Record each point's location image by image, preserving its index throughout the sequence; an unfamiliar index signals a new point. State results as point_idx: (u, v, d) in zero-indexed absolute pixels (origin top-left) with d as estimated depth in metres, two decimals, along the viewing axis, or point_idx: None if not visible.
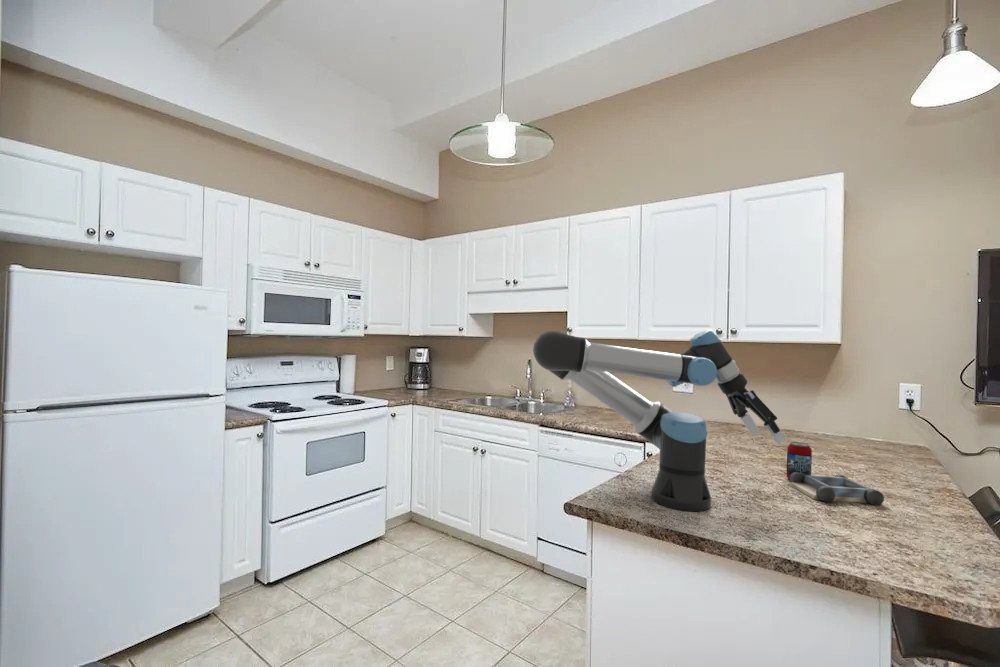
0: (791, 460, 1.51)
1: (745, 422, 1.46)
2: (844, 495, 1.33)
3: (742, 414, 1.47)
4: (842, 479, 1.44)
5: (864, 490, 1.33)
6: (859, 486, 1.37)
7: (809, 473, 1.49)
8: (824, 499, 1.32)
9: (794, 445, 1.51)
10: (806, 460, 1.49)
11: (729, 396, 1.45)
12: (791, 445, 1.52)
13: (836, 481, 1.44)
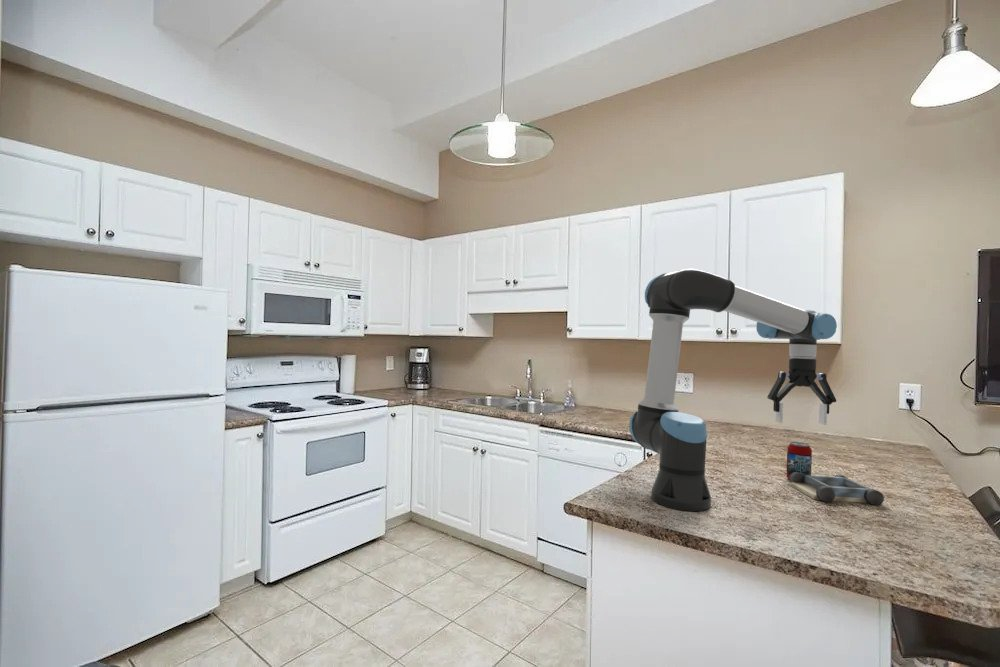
0: (791, 460, 1.51)
1: None
2: (844, 495, 1.33)
3: None
4: (842, 479, 1.44)
5: (864, 490, 1.33)
6: (859, 486, 1.37)
7: (809, 473, 1.49)
8: (824, 499, 1.32)
9: (794, 445, 1.51)
10: (806, 460, 1.49)
11: None
12: (791, 445, 1.52)
13: (836, 481, 1.44)
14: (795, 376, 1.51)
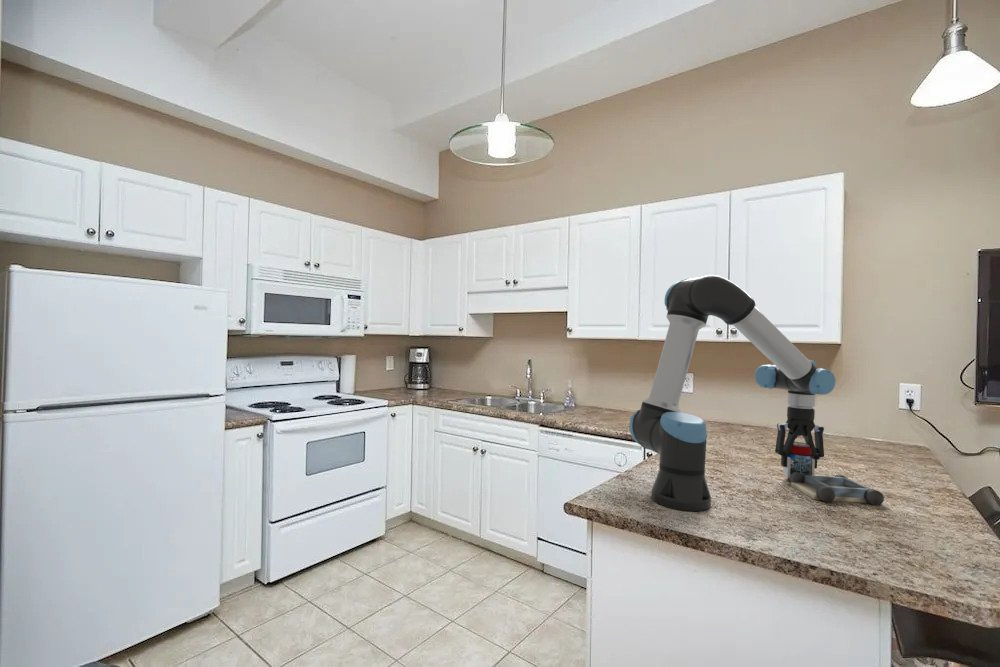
0: (791, 460, 1.51)
1: None
2: (844, 495, 1.33)
3: None
4: (842, 479, 1.44)
5: (864, 490, 1.33)
6: (859, 486, 1.37)
7: (809, 473, 1.49)
8: (824, 499, 1.32)
9: (794, 445, 1.51)
10: (806, 460, 1.49)
11: (786, 429, 1.52)
12: None
13: (836, 481, 1.44)
14: (794, 425, 1.51)
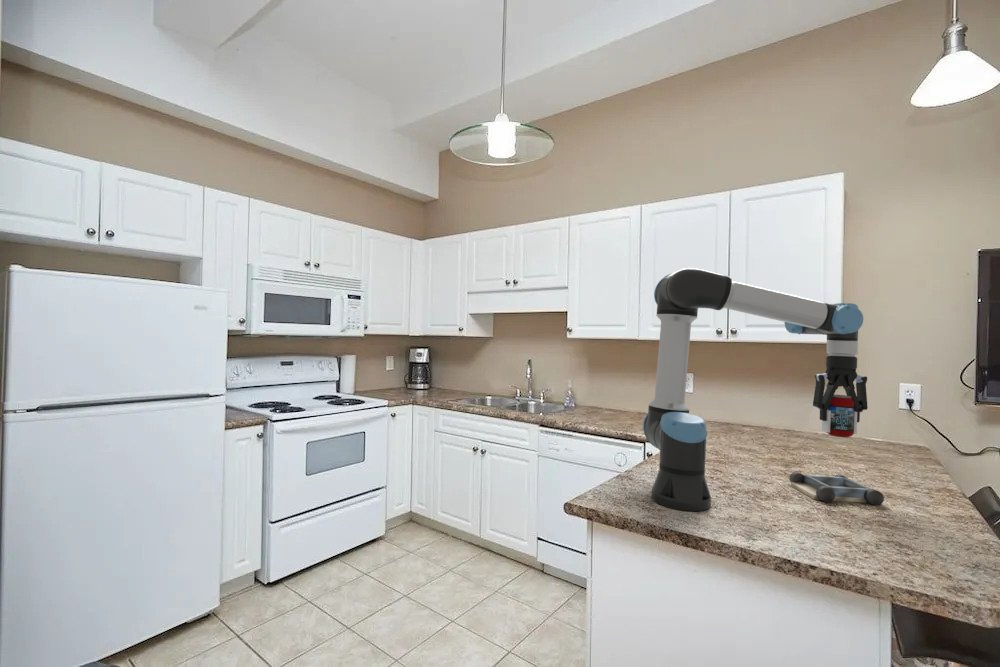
0: (831, 413, 1.38)
1: None
2: (844, 495, 1.33)
3: None
4: (842, 479, 1.44)
5: (864, 490, 1.33)
6: (859, 486, 1.37)
7: (851, 427, 1.36)
8: (824, 499, 1.32)
9: (834, 397, 1.38)
10: (848, 412, 1.36)
11: (825, 379, 1.39)
12: None
13: (836, 481, 1.44)
14: (834, 375, 1.38)
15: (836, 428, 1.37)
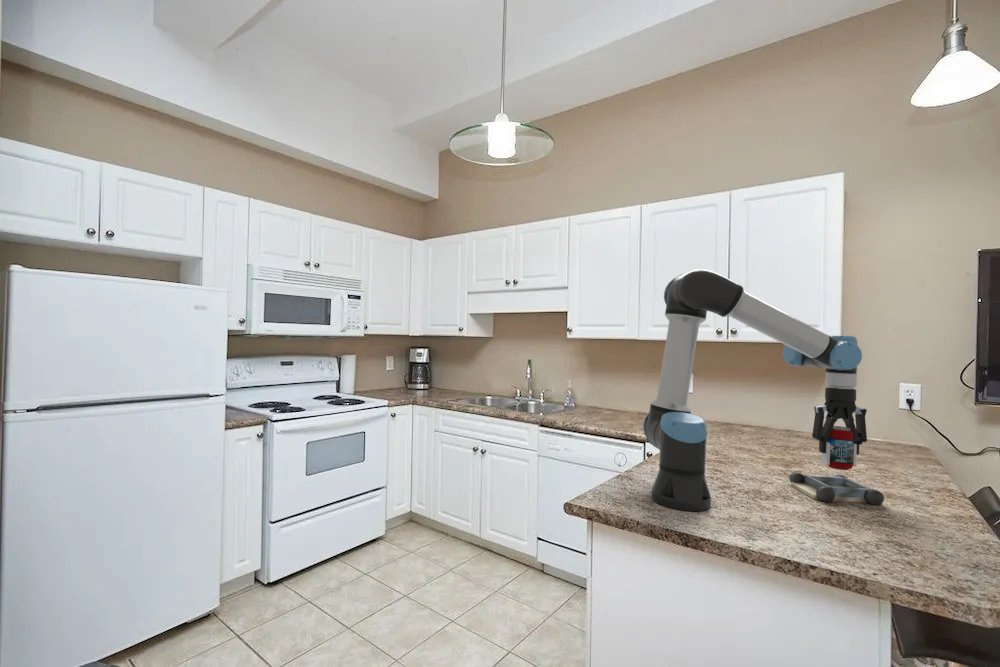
0: (830, 445, 1.38)
1: None
2: (844, 495, 1.33)
3: None
4: (842, 479, 1.44)
5: (864, 490, 1.33)
6: (859, 486, 1.37)
7: (851, 459, 1.36)
8: (824, 499, 1.32)
9: (834, 429, 1.38)
10: (847, 445, 1.36)
11: None
12: None
13: (836, 481, 1.44)
14: (833, 407, 1.38)
15: (836, 461, 1.37)
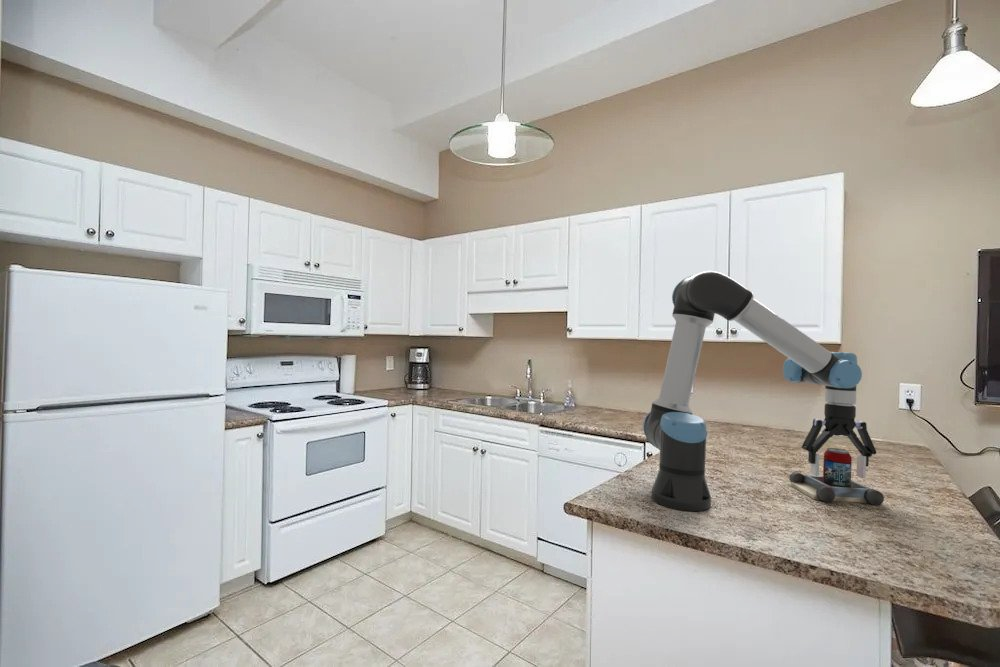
0: (829, 468, 1.38)
1: None
2: (844, 495, 1.33)
3: None
4: None
5: (864, 490, 1.33)
6: (859, 486, 1.37)
7: (849, 482, 1.36)
8: (824, 499, 1.32)
9: (832, 452, 1.38)
10: (846, 468, 1.36)
11: (822, 426, 1.38)
12: (828, 452, 1.39)
13: None
14: (832, 424, 1.38)
15: (834, 484, 1.37)
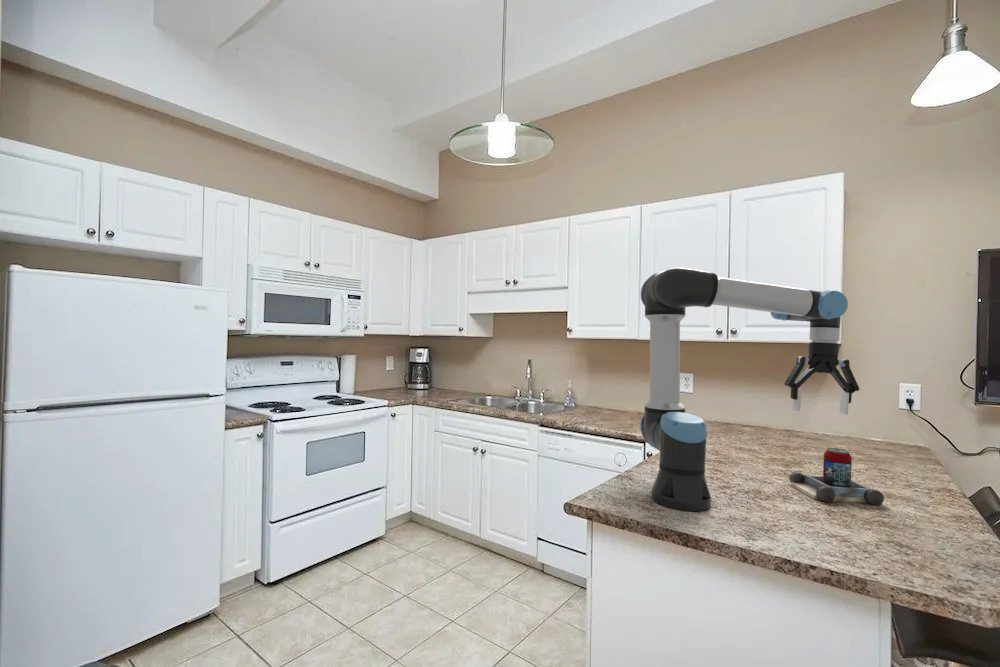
0: (829, 468, 1.38)
1: None
2: (844, 495, 1.33)
3: None
4: None
5: (864, 490, 1.33)
6: (859, 486, 1.37)
7: (849, 482, 1.36)
8: (824, 499, 1.32)
9: (832, 452, 1.38)
10: (846, 469, 1.36)
11: None
12: (828, 452, 1.39)
13: None
14: (815, 361, 1.41)
15: (834, 484, 1.37)
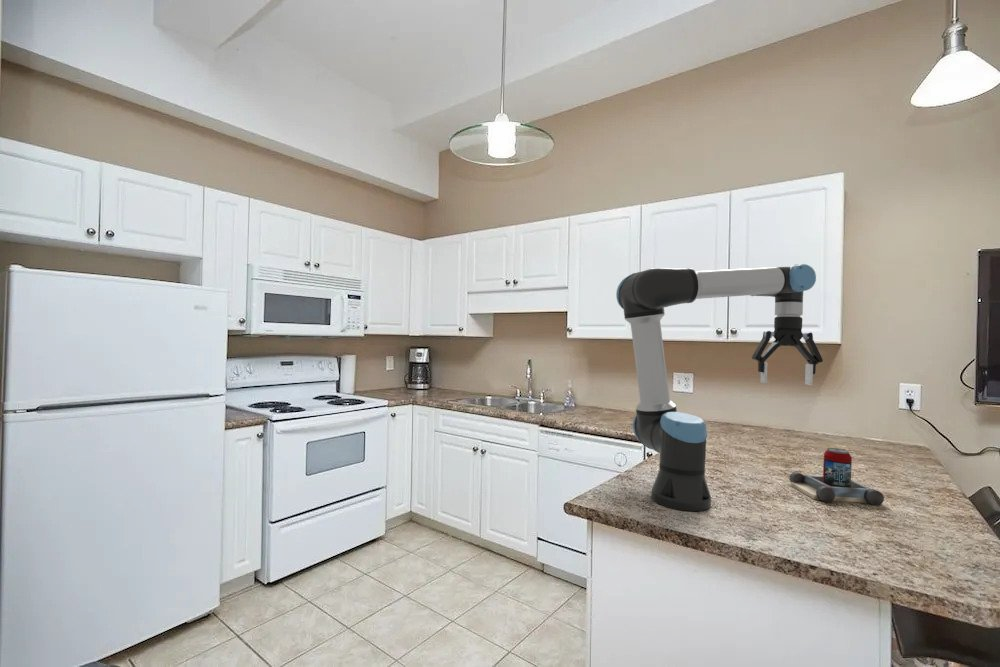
0: (829, 468, 1.38)
1: None
2: (844, 495, 1.33)
3: None
4: None
5: (864, 490, 1.33)
6: (859, 486, 1.37)
7: (849, 482, 1.36)
8: (824, 499, 1.32)
9: (832, 452, 1.38)
10: (846, 469, 1.36)
11: (771, 337, 1.46)
12: (828, 452, 1.39)
13: None
14: (780, 335, 1.46)
15: (834, 484, 1.37)
